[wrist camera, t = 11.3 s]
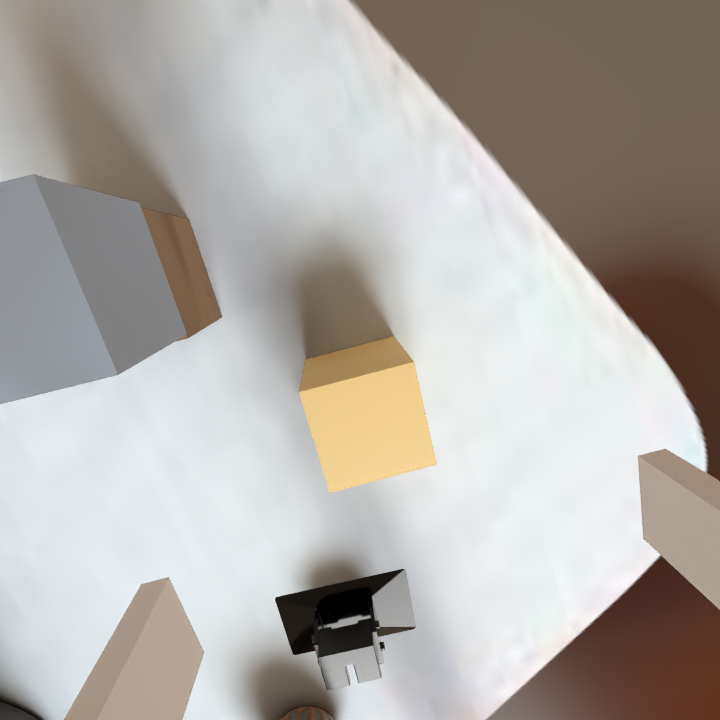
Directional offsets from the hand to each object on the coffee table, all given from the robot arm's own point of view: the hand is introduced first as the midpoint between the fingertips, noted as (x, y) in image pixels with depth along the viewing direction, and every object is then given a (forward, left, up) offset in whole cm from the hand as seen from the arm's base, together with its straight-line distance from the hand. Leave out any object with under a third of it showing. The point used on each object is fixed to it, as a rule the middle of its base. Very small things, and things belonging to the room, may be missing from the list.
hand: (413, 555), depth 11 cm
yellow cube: (0, 0, -15) cm, 15 cm away
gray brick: (-10, +9, -9) cm, 16 cm away
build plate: (-5, -17, -15) cm, 23 cm away
